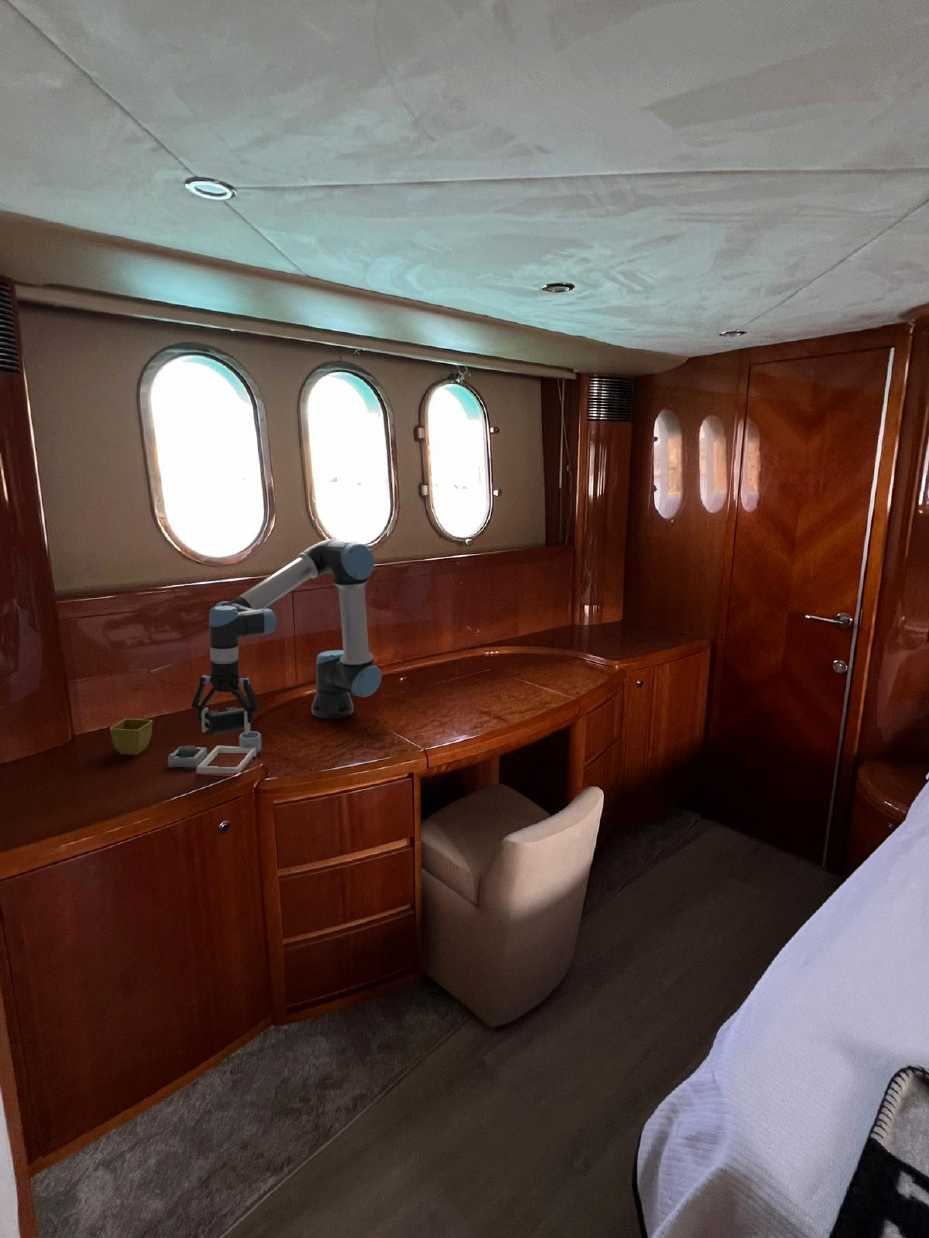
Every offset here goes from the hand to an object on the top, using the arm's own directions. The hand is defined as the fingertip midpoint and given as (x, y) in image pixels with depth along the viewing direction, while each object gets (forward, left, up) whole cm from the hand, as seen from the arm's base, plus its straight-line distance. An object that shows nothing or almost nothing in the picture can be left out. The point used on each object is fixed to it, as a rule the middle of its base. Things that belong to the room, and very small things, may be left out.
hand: (226, 731), depth 186 cm
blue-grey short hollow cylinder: (-3, -11, -11) cm, 16 cm away
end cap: (0, 0, -1) cm, 1 cm away
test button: (+12, -1, -9) cm, 15 cm away
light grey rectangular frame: (0, 0, -11) cm, 11 cm away
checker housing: (+12, -1, -11) cm, 16 cm away
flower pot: (+31, -6, -11) cm, 33 cm away
